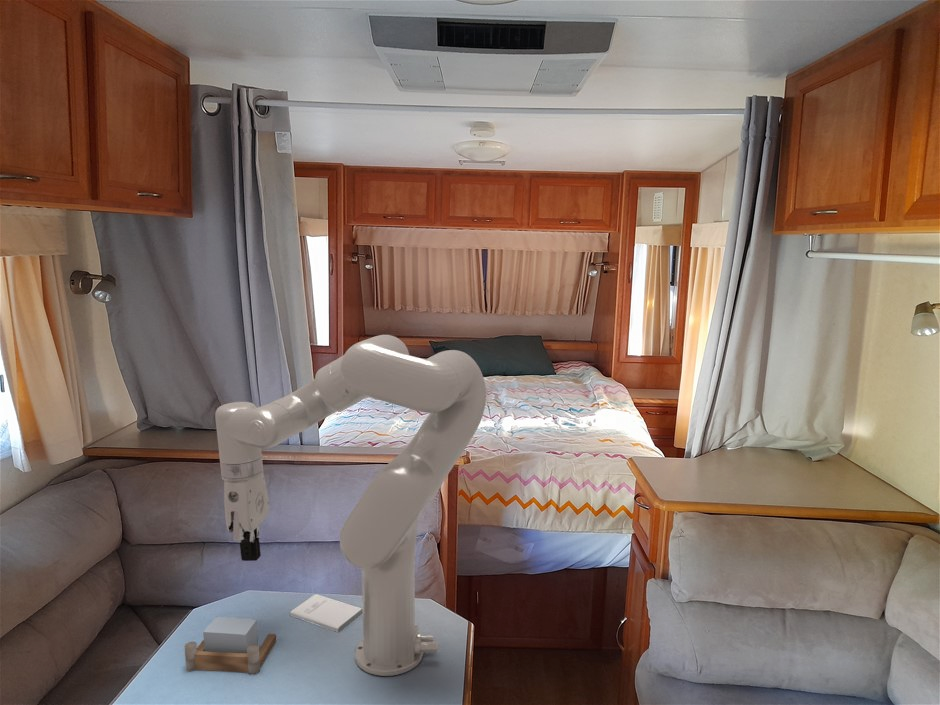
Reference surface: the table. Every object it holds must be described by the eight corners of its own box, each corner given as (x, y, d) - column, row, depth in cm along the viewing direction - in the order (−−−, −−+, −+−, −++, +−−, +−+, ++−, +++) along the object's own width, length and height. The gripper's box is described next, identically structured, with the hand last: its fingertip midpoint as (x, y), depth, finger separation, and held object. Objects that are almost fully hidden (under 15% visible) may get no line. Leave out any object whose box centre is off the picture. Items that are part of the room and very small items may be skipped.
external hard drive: (338, 635, 130) (290, 618, 136) (363, 615, 137) (316, 599, 143) (337, 627, 130) (289, 611, 136) (363, 607, 137) (316, 592, 143)
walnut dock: (277, 641, 127) (276, 619, 126) (257, 674, 117) (256, 651, 117) (209, 637, 128) (208, 616, 127) (183, 670, 118) (182, 647, 118)
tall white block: (258, 648, 125) (257, 619, 124) (247, 664, 120) (245, 634, 119) (217, 645, 126) (216, 616, 125) (205, 662, 121) (203, 632, 120)
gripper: (245, 481, 117) (255, 577, 120) (275, 455, 132) (283, 541, 135) (204, 481, 118) (215, 578, 121) (239, 455, 133) (248, 542, 136)
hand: (251, 558), depth 128 cm, fingers closed
